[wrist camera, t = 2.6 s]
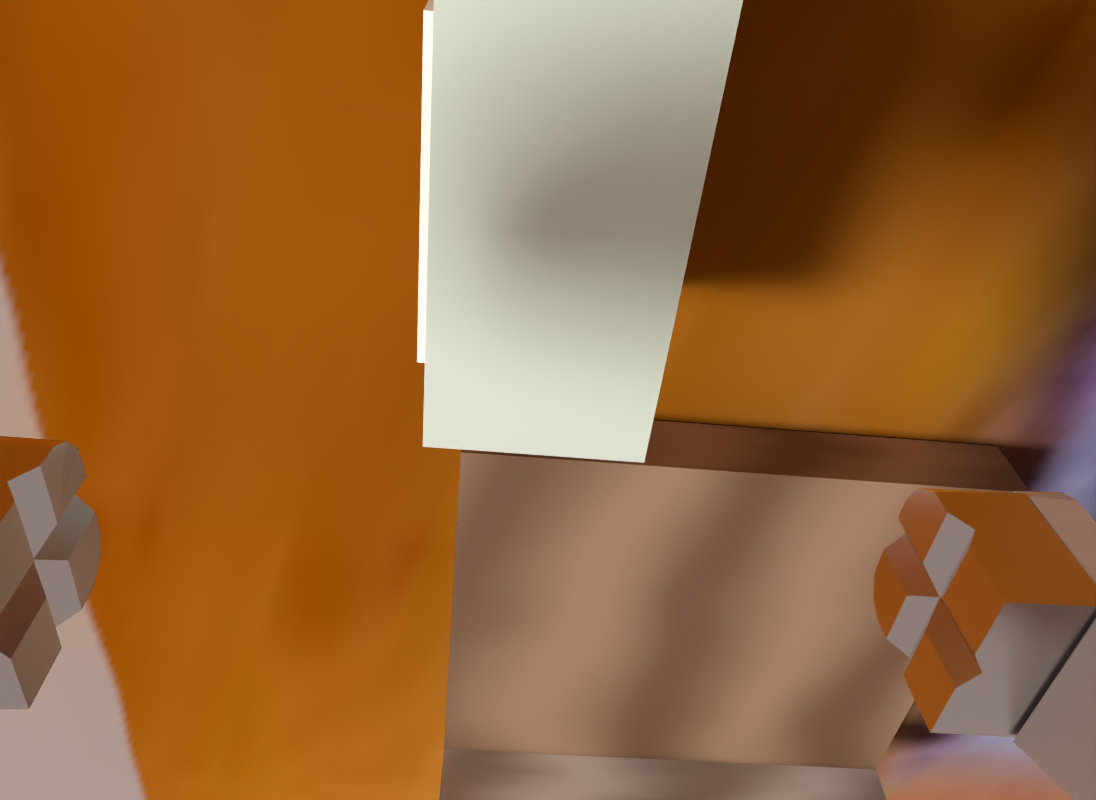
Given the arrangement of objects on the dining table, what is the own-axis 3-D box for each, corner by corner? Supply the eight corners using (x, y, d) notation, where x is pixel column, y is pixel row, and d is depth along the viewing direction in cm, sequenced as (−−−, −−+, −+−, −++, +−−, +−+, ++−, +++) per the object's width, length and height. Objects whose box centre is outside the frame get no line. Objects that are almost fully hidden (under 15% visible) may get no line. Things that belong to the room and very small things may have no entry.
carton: (675, -83, 17) (747, -20, 11) (615, 283, 21) (644, 462, 16) (456, -108, 17) (414, -56, 11) (443, 269, 21) (408, 445, 15)
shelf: (997, 445, 24) (1090, 577, 20) (845, 744, 33) (889, 881, 29) (466, 406, 23) (451, 536, 19) (447, 725, 32) (434, 863, 27)
